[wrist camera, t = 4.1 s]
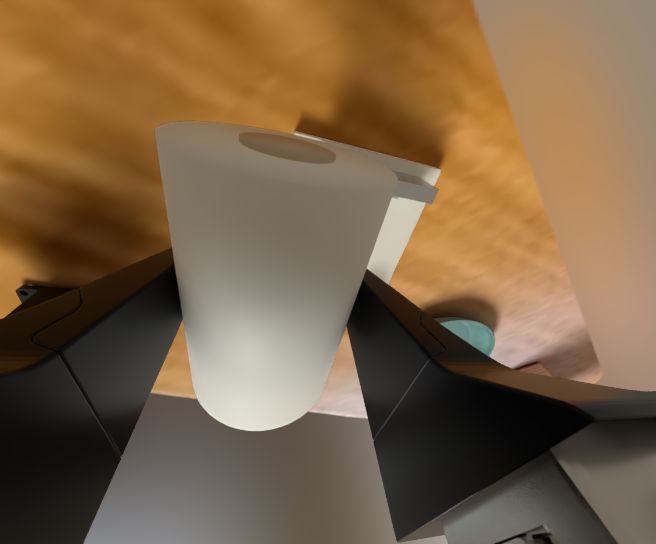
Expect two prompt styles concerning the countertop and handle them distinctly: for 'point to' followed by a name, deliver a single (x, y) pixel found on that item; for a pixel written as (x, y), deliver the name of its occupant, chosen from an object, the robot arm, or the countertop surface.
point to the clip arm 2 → (414, 188)
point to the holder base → (391, 209)
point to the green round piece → (470, 332)
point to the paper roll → (266, 260)
